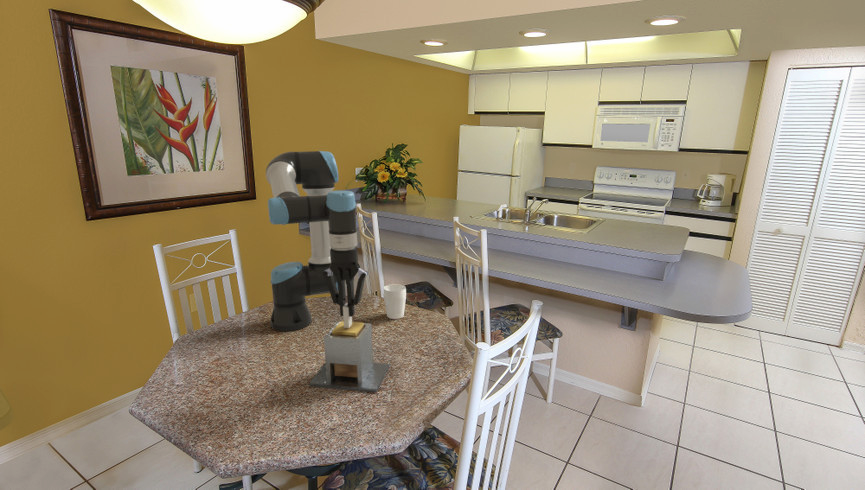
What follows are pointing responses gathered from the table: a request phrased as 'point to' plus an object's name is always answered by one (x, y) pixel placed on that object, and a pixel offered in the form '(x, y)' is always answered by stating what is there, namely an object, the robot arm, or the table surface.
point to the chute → (350, 362)
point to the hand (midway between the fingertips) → (348, 326)
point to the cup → (395, 300)
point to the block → (349, 332)
